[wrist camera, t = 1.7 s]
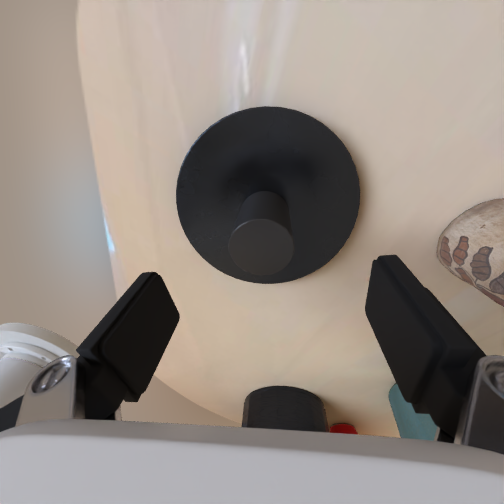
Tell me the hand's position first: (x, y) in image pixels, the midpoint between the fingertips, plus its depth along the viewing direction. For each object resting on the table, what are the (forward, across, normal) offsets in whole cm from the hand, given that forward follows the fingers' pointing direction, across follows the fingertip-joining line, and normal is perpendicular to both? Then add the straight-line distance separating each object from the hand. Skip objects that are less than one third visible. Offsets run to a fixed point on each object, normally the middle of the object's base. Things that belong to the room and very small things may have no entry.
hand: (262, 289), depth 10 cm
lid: (+10, 0, 0) cm, 10 cm away
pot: (+10, +2, +36) cm, 38 cm away
